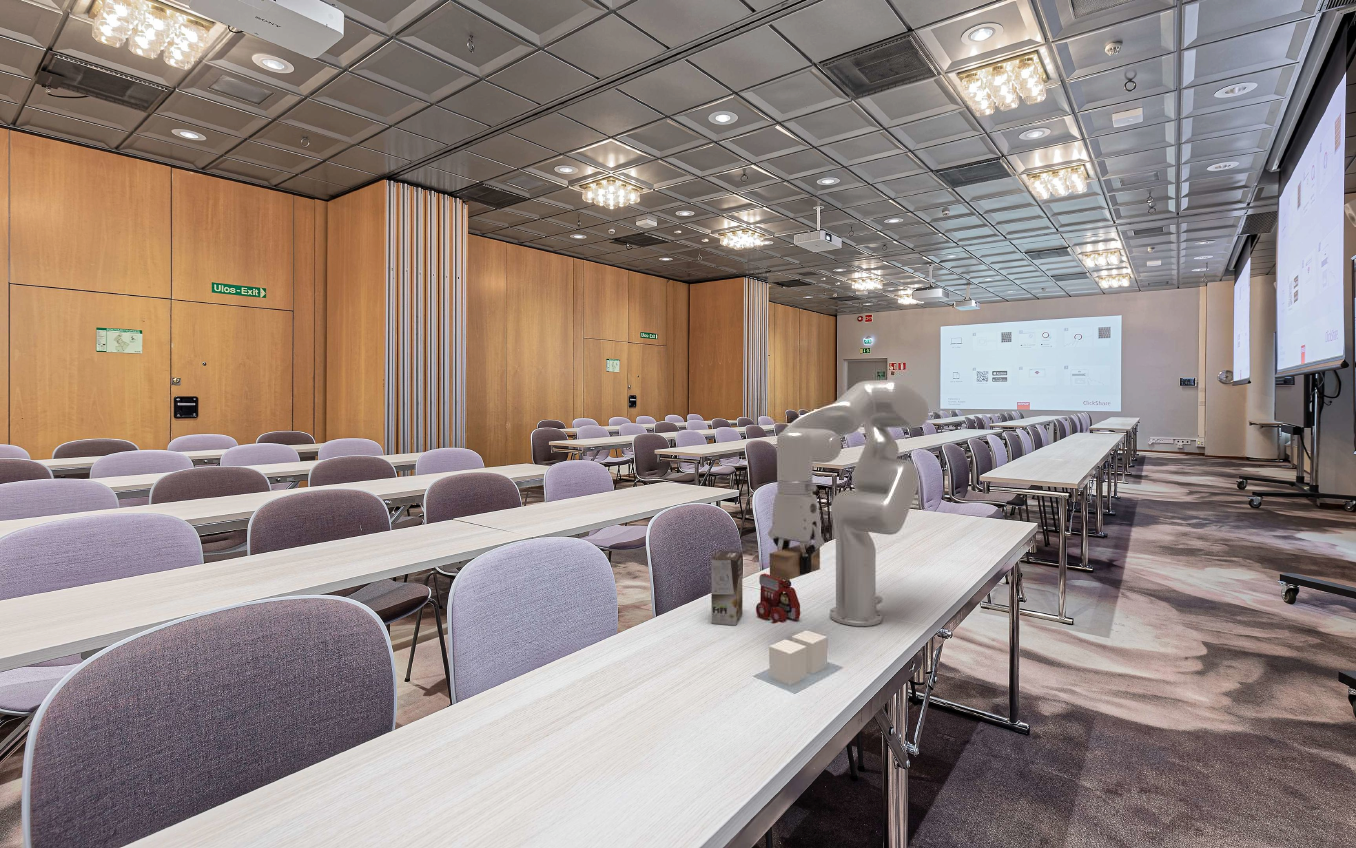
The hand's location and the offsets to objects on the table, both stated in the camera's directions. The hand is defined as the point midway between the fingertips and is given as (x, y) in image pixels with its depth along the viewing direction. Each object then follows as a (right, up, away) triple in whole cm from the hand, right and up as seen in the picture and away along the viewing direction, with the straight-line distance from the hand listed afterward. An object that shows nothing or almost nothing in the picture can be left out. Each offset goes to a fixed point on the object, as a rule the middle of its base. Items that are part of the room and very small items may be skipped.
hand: (795, 570), depth 134 cm
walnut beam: (0, 0, 0) cm, 0 cm away
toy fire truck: (-1, -17, +19) cm, 25 cm away
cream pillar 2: (+1, -17, -11) cm, 20 cm away
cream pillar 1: (-4, -17, -16) cm, 23 cm away
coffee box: (-13, -17, +19) cm, 29 cm away
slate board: (-2, -18, -14) cm, 22 cm away
